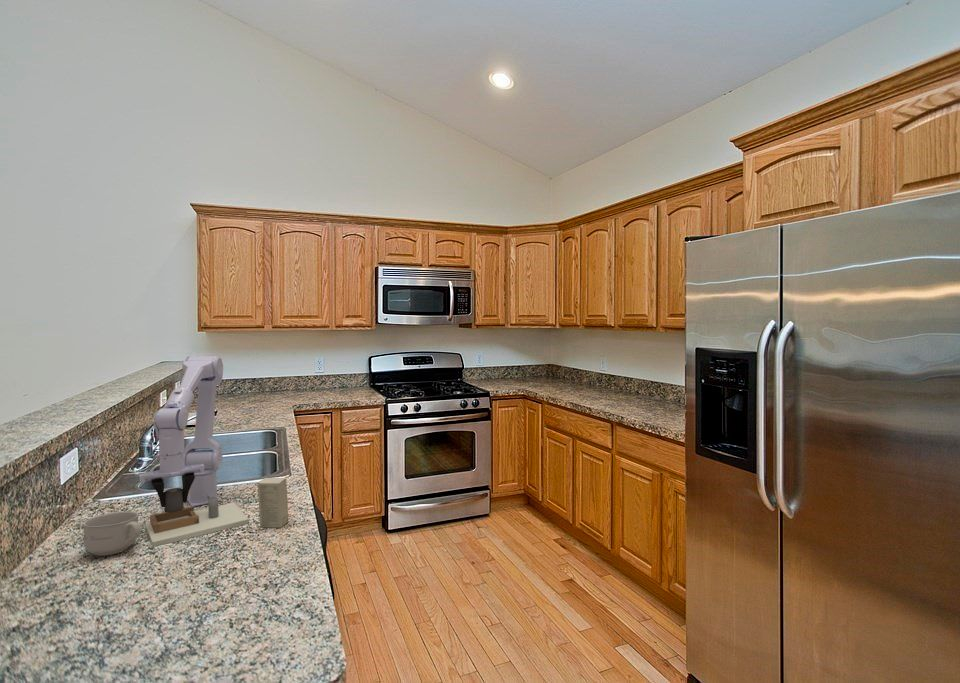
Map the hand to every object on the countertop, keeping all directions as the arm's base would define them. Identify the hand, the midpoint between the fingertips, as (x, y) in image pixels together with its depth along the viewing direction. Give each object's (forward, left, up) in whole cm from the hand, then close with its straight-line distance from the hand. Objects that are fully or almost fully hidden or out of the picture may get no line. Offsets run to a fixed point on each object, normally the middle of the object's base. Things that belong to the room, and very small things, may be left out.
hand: (173, 503), depth 134 cm
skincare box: (+15, +21, -7) cm, 27 cm away
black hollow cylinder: (0, 0, -2) cm, 2 cm away
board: (+2, +5, -6) cm, 8 cm away
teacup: (+7, -13, -7) cm, 16 cm away
